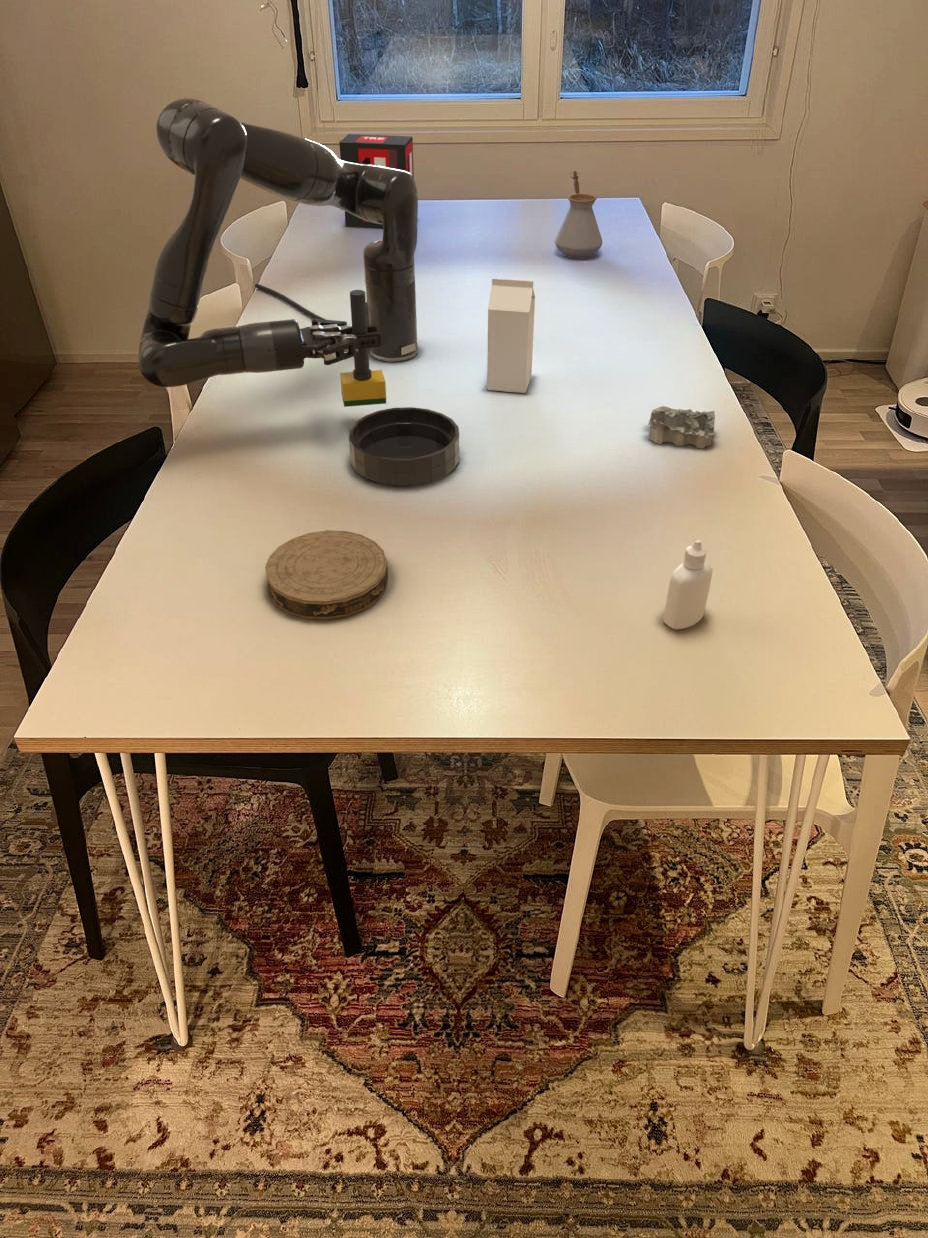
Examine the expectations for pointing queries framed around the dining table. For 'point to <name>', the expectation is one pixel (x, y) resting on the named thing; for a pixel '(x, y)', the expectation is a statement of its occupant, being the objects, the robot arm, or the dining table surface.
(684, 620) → the eye dropper bottle
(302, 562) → the wood slice
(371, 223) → the cleaning product box
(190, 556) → the dining table surface
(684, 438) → the egg carton
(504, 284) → the milk carton
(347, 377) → the sponge wand
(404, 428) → the bowl
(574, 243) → the coffee pot
